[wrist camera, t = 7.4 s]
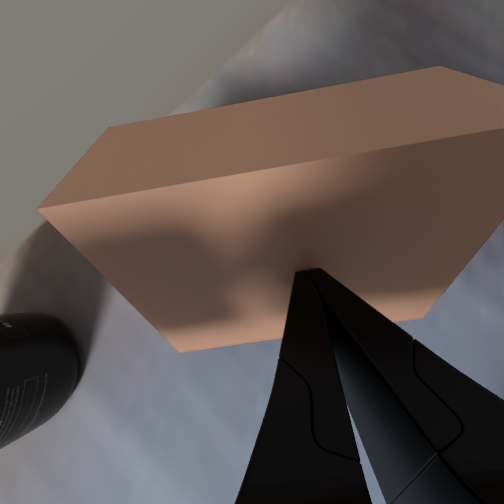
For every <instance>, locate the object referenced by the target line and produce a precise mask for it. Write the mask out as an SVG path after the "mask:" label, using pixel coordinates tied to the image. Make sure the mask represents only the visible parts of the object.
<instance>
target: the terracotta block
mask: <svg viewBox="0 0 504 504" xmlns="http://www.w3.org/2000/svg"><path fill="white" fill-rule="evenodd" d="M37 210H38V211H39V212H40V213H41V214H42V215H43V216H44V217H45V218H46V219H47V220H48V221H49V222H50V223H51V224H52V225H53V226H54V227H55V228H56V229H57V230H58V231H59V232H60V233H61V234H62V235H63V236H64V237H65V238H66V239H67V240H68V241H69V242H70V243H71V244H72V245H73V246H74V247H75V248H76V249H77V250H78V251H79V252H80V253H81V254H82V255H83V256H84V257H85V258H86V259H87V260H88V261H89V262H90V263H91V264H92V265H93V266H94V267H95V268H96V269H97V270H98V271H99V272H100V273H101V274H102V275H103V276H104V277H105V278H106V279H107V280H108V281H109V282H110V283H111V284H112V285H113V286H114V287H115V288H116V289H117V290H118V291H119V292H120V293H121V294H122V295H123V296H124V297H125V298H126V299H127V300H128V301H129V302H130V304H131V305H132V306H133V307H134V308H135V309H136V310H137V311H138V312H139V313H140V314H141V315H142V316H143V317H144V318H145V319H146V320H147V321H148V322H149V323H150V324H151V325H152V326H153V327H154V328H155V329H156V330H157V331H158V332H159V333H160V334H161V335H162V336H163V337H164V338H165V339H166V340H167V341H168V342H169V343H170V344H171V345H172V346H173V347H174V348H175V349H176V350H177V351H178V352H179V353H181V352H188V351H195V350H202V349H209V348H216V347H223V346H230V345H237V344H244V343H252V342H259V341H266V340H273V339H280V338H283V332H284V327H285V322H286V316H287V311H288V306H289V300H290V295H291V290H292V284H293V279H294V274H295V271H299V270H307V271H308V270H309V269H312V268H322V269H323V270H324V271H326V272H327V273H328V274H330V275H331V276H332V277H334V278H335V279H336V280H338V281H339V282H340V283H342V284H343V285H344V286H346V287H347V288H348V289H350V290H351V291H352V292H354V293H355V294H356V295H358V296H359V297H360V298H362V299H363V300H364V301H366V302H367V303H368V304H370V305H371V306H372V307H374V308H375V309H376V310H378V311H379V312H380V313H382V314H383V315H384V316H385V317H387V318H388V319H389V320H391V321H392V322H399V321H406V320H413V319H420V318H423V317H424V316H425V315H426V314H427V313H428V311H429V310H430V309H431V308H432V306H433V305H434V304H435V303H436V302H437V300H438V299H439V298H440V297H441V295H442V294H443V293H444V292H445V291H446V289H447V288H448V287H449V286H450V284H451V283H452V282H453V281H454V280H455V278H456V277H457V276H458V275H459V273H460V272H461V271H462V270H463V269H464V267H465V266H466V265H467V264H468V262H469V261H470V260H471V259H472V258H473V256H474V255H475V254H476V253H477V251H478V250H479V249H480V248H481V247H482V245H483V244H484V243H485V242H486V241H487V239H488V238H489V237H490V236H491V234H492V233H493V232H494V231H495V230H496V228H497V227H498V226H499V225H500V223H501V222H502V221H503V220H504V85H501V84H497V83H494V82H491V81H488V80H484V79H481V78H478V77H475V76H472V75H468V74H465V73H462V72H459V71H455V70H452V69H449V68H446V67H442V66H435V67H429V68H424V69H419V70H413V71H408V72H403V73H397V74H392V75H387V76H381V77H376V78H371V79H365V80H360V81H355V82H349V83H344V84H339V85H333V86H328V87H323V88H317V89H312V90H307V91H301V92H296V93H291V94H285V95H280V96H275V97H269V98H264V99H259V100H253V101H248V102H243V103H237V104H232V105H227V106H221V107H216V108H211V109H205V110H200V111H195V112H189V113H184V114H179V115H173V116H168V117H162V118H157V119H152V120H146V121H141V122H136V123H130V124H126V125H120V126H114V127H109V128H108V129H107V130H106V131H105V132H104V133H103V134H102V135H101V137H100V138H99V139H98V140H97V141H96V142H95V144H94V145H93V146H92V147H91V148H90V149H89V150H88V151H87V153H86V154H85V155H84V156H83V157H82V158H81V159H80V160H79V162H78V163H77V164H76V165H75V166H74V167H73V168H72V170H71V171H70V172H69V173H68V174H67V175H66V176H65V178H64V179H63V180H62V181H61V182H60V183H59V184H58V185H57V187H56V188H55V189H54V190H53V191H52V192H51V193H50V194H49V196H48V197H47V198H46V199H45V200H44V201H43V202H42V204H41V205H40V206H39V207H38V208H37Z"/></svg>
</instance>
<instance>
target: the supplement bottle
mask: <svg viewBox="0 0 504 504" xmlns="http://www.w3.org/2000/svg"><path fill="white" fill-rule="evenodd" d="M78 370H79V354H78V348H77V345H76V342H75V340H74V337H73V336H72V334H71V332H70V331H69V330H68V328H67V327H66V326H65V325H64V324H63V323H61V322H60V321H59V320H57V319H55V318H54V317H51V316H49V315H46V314H41V313H16V314H2V315H0V449H1V448H3V447H5V446H7V445H8V444H10V443H12V442H14V441H15V440H17V439H19V438H21V437H22V436H24V435H26V434H27V433H29V432H31V431H32V430H34V429H36V428H37V427H39V426H41V425H42V424H44V423H45V422H47V421H48V420H49V419H51V418H52V417H53V416H54V415H55V414H56V413H57V412H58V411H59V410H60V409H61V408H62V407H63V405H64V404H65V403H66V401H67V400H68V398H69V396H70V395H71V393H72V391H73V388H74V386H75V383H76V380H77V376H78Z"/></svg>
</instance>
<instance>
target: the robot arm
mask: <svg viewBox="0 0 504 504" xmlns="http://www.w3.org/2000/svg"><path fill="white" fill-rule="evenodd" d="M346 403H347V404H346ZM347 405H348V408H349V410H350V413H351V415H352V418H353V420H354V423H355V426H356V428H357V431H358V433H359V436H360V438H361V441H362V443H363V446H364V448H365V451H366V453H367V456H368V458H369V461H370V463H371V466H372V468H373V471H374V474H375V476H376V479H377V481H378V484H379V486H380V489H381V491H382V494H383V496H384V499H385V501H386V504H504V400H503V399H501V398H500V397H498V396H497V395H495V394H494V393H492V392H491V391H489V390H488V389H486V388H484V387H483V386H481V385H480V384H478V383H477V382H475V381H474V380H472V379H471V378H469V377H468V376H466V375H465V374H463V373H462V372H460V371H459V370H457V369H456V368H454V367H453V366H452V365H450V364H449V363H447V362H446V361H445V360H443V359H442V358H441V357H439V356H438V355H436V354H435V353H434V352H432V351H431V350H429V349H428V348H427V347H425V346H424V345H423V344H422V343H420V342H419V341H418V340H416V339H414V340H413V337H412V336H411V335H409V334H408V333H407V332H405V331H404V330H403V329H401V328H400V327H399V326H397V325H396V324H395V323H393V322H392V321H391V320H389V319H388V318H387V317H385V316H384V315H383V314H382V313H380V312H379V311H378V310H376V309H375V308H374V307H372V306H371V305H370V304H368V303H367V302H366V301H364V300H363V299H362V298H360V297H359V296H358V295H356V294H355V293H354V292H352V291H351V290H350V289H348V288H347V287H346V286H344V285H343V284H342V283H340V282H339V281H338V280H336V279H335V278H334V277H332V276H331V275H330V274H328V273H327V272H326V271H324V270H323V269H322V268H312V269H309V270H308V271H307V270H299V271H295V274H294V279H293V284H292V290H291V295H290V300H289V306H288V311H287V316H286V322H285V327H284V332H283V338H282V343H281V348H280V354H279V359H278V363H277V369H276V374H275V378H274V383H273V387H272V391H271V395H270V398H269V402H268V405H267V409H266V412H265V415H264V418H263V422H262V425H261V428H260V431H259V434H258V437H257V440H256V443H255V446H254V449H253V452H252V455H251V458H250V461H249V464H248V467H247V470H246V473H245V476H244V479H243V482H242V485H241V488H240V490H239V493H238V496H237V498H236V501H235V503H234V504H372V501H371V498H370V495H369V491H368V488H367V484H366V481H365V477H364V473H363V469H362V466H361V464H360V457H359V453H358V449H357V445H356V441H355V436H354V432H353V428H352V424H351V420H350V416H349V412H348V408H347Z"/></svg>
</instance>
